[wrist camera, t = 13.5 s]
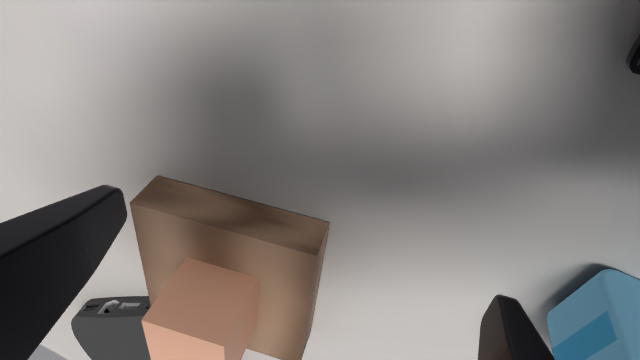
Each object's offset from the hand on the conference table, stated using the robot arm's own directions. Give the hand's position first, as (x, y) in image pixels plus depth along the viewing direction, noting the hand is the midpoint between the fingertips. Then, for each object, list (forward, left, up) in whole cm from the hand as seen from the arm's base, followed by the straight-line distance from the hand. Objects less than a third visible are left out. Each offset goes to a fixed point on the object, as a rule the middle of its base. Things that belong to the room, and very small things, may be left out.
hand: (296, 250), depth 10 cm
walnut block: (+7, +17, -13) cm, 22 cm away
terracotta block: (+7, +17, -10) cm, 21 cm away
